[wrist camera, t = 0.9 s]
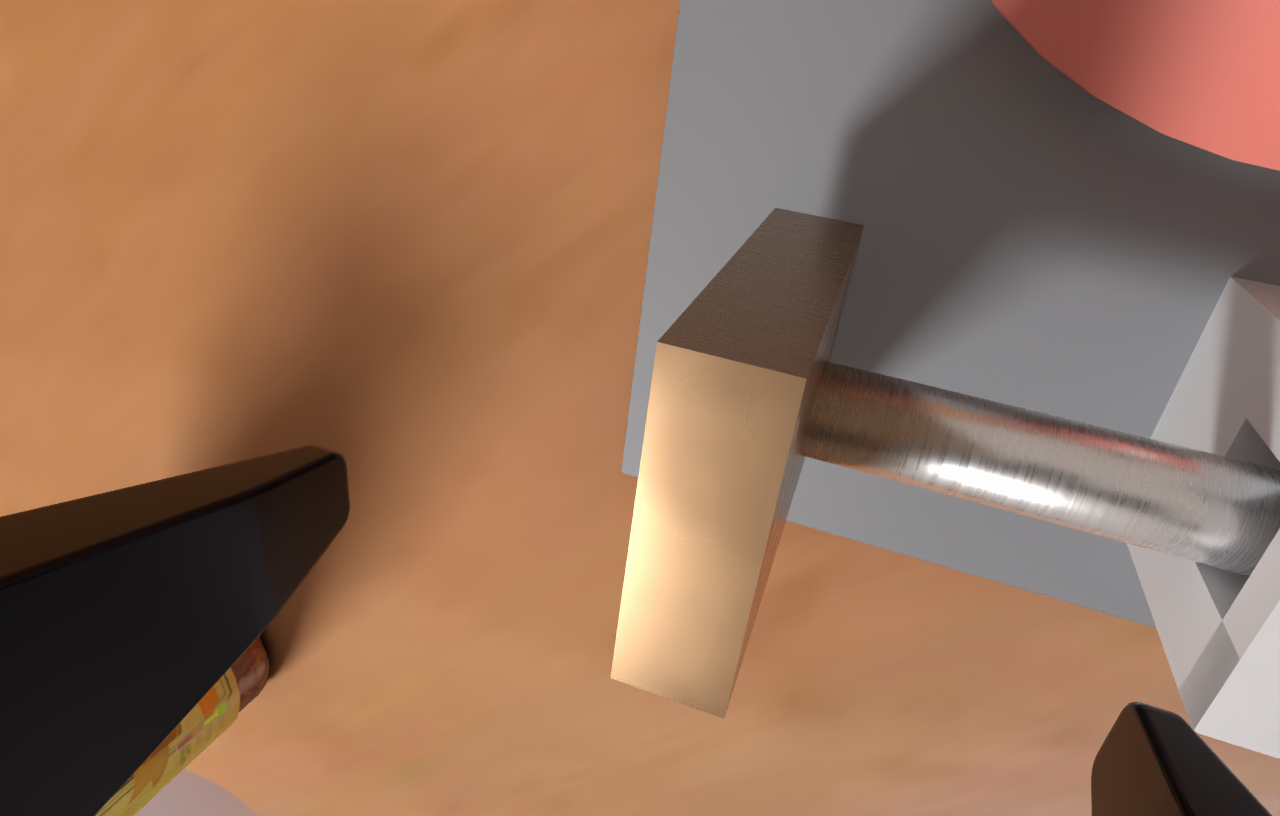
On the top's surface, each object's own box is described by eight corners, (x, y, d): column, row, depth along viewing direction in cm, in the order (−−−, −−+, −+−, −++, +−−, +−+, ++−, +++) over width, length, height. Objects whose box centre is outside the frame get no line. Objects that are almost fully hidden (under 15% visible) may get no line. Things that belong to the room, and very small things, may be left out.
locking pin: (1653, 379, 11) (2441, 781, 5) (1443, 637, 14) (1828, 1112, 8) (775, 207, 14) (657, 341, 8) (728, 443, 17) (610, 677, 11)
